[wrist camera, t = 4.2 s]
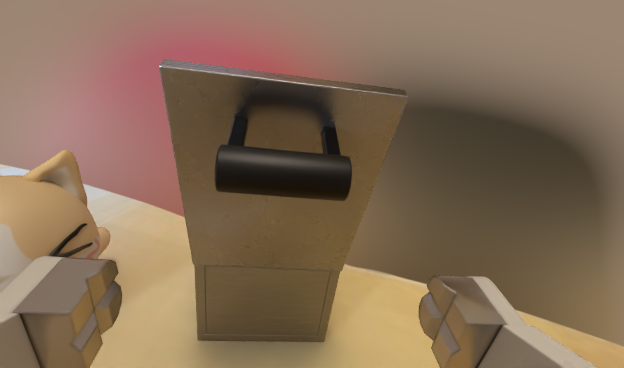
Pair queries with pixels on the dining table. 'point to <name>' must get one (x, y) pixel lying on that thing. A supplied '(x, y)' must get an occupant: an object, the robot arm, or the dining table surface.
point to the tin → (263, 303)
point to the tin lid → (275, 162)
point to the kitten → (46, 217)
